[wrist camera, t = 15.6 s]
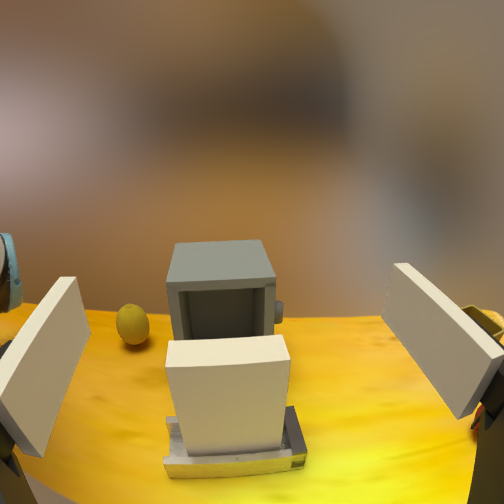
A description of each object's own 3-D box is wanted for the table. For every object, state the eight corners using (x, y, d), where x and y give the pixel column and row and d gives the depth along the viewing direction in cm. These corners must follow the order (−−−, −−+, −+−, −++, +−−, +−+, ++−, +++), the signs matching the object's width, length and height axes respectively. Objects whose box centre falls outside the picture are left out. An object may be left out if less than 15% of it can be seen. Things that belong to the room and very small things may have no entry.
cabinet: (184, 396, 41) (165, 282, 34) (187, 344, 52) (175, 243, 45) (278, 390, 42) (286, 276, 35) (265, 340, 53) (267, 239, 46)
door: (190, 465, 30) (165, 367, 24) (190, 439, 33) (169, 337, 27) (279, 459, 31) (290, 359, 25) (273, 433, 34) (281, 331, 28)
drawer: (169, 478, 28) (162, 461, 27) (171, 433, 34) (165, 414, 33) (303, 468, 30) (307, 451, 28) (290, 425, 36) (293, 405, 35)
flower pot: (486, 372, 40) (507, 329, 37) (455, 390, 38) (477, 344, 35) (457, 345, 48) (472, 303, 45) (425, 358, 46) (440, 313, 43)
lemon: (157, 348, 50) (149, 307, 47) (126, 357, 47) (116, 317, 44) (146, 331, 55) (139, 292, 52) (118, 340, 52) (108, 301, 49)
